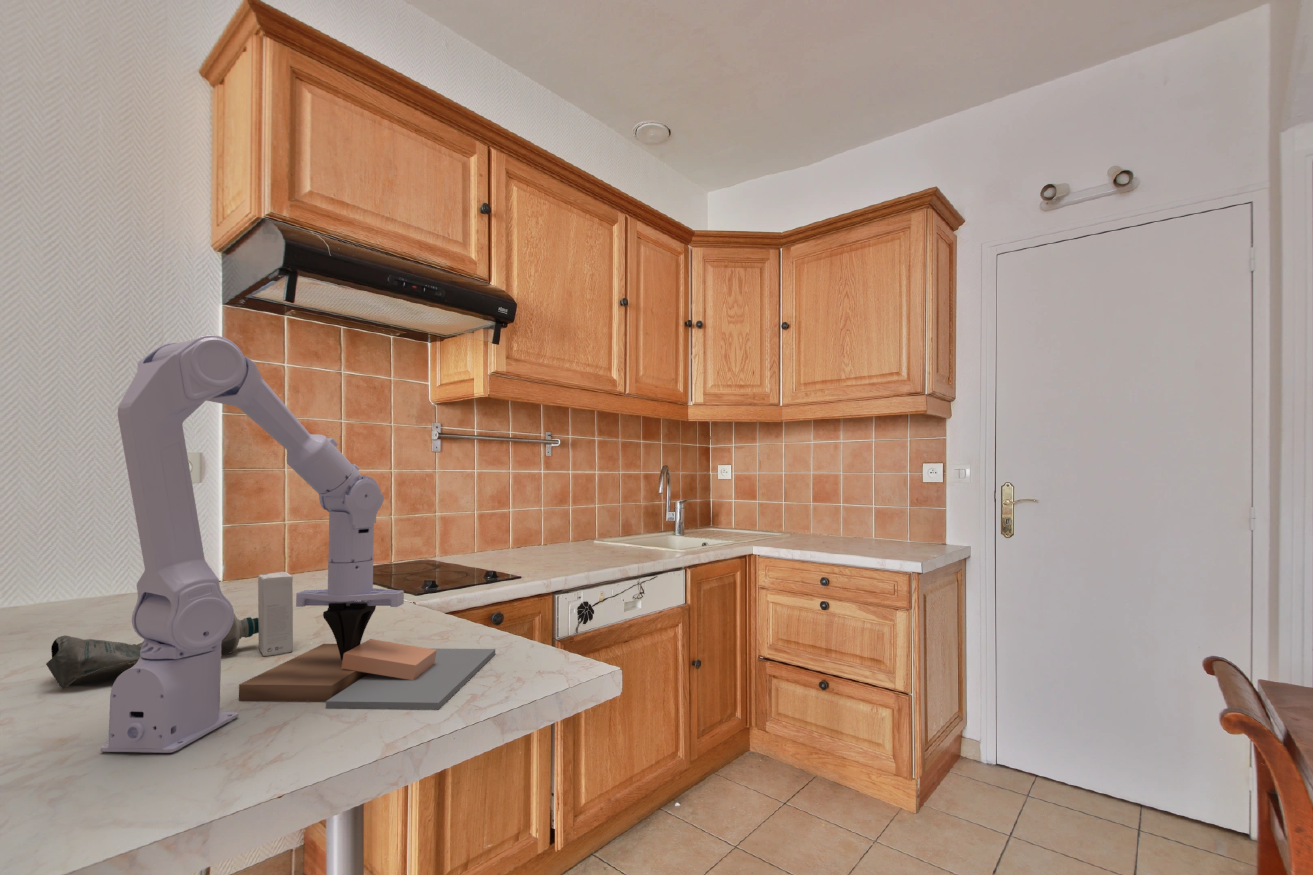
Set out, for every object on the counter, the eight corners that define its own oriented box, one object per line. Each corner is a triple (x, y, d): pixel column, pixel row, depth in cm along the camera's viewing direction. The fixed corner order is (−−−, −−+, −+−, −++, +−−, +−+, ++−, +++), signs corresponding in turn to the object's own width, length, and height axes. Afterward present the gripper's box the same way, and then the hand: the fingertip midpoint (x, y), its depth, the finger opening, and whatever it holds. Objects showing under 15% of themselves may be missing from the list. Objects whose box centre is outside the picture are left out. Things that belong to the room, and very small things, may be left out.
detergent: (46, 700, 77) (272, 652, 96) (46, 643, 78) (270, 605, 96) (43, 684, 87) (250, 643, 105) (44, 633, 87) (249, 601, 105)
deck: (331, 701, 76) (331, 685, 76) (238, 700, 77) (239, 684, 77) (398, 657, 94) (398, 644, 94) (323, 656, 95) (323, 643, 95)
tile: (413, 680, 82) (415, 665, 82) (341, 668, 82) (343, 653, 82) (434, 663, 89) (436, 649, 89) (368, 652, 89) (370, 638, 89)
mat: (438, 709, 74) (438, 702, 74) (325, 707, 74) (325, 701, 74) (495, 654, 96) (495, 648, 96) (407, 653, 96) (407, 648, 96)
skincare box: (294, 651, 97) (295, 575, 98) (260, 657, 95) (262, 578, 95) (287, 643, 102) (289, 570, 103) (255, 648, 99) (257, 573, 100)
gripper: (413, 556, 90) (412, 649, 89) (318, 556, 91) (316, 648, 90) (390, 563, 83) (389, 665, 82) (287, 563, 84) (284, 664, 83)
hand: (349, 657), depth 86 cm, fingers closed
